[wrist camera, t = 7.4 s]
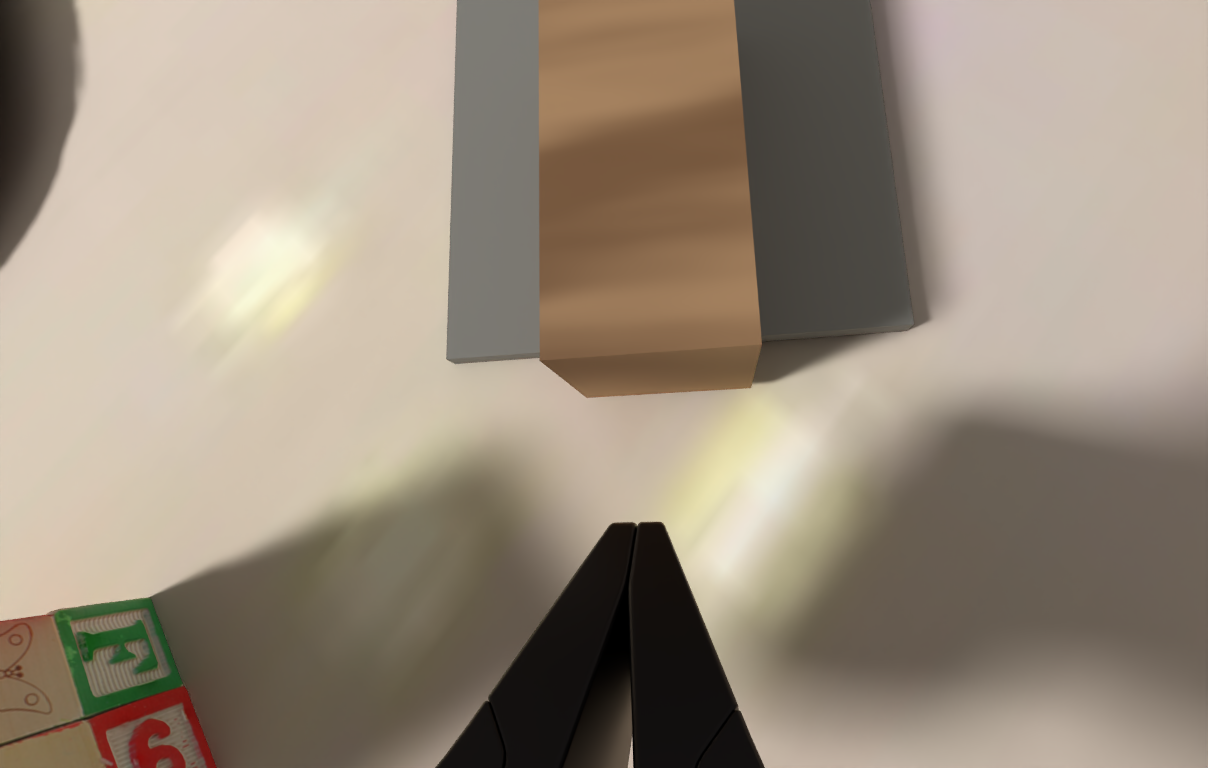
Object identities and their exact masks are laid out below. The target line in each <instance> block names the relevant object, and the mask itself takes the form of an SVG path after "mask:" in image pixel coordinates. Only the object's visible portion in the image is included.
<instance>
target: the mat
mask: <svg viewBox="0 0 1208 768" xmlns="http://www.w3.org/2000/svg"><path fill="white" fill-rule="evenodd" d="M734 7H735V19H736V32H737V44H738V56H739V69H740V81H741V93H742V105H743V118H744V130H745V142H746V155H747V167H748V179H749V191H750V204H751V216H752V228H753V241H754V253H755V265H756V278H757V290H758V302H759V314H760V327H761V339H762V341H775V340H788V339H802V338H816V337H829V336H843V335H857V334H870V333H884V332H898V331H907V330H908V329H910V328H911V327H912V326H913V325H914V320H913V313H912V306H911V298H910V291H909V284H908V276H907V269H906V262H905V254H904V247H903V239H902V232H901V225H900V217H899V210H898V203H897V195H896V188H895V181H894V173H893V166H892V159H891V151H890V144H889V136H888V129H887V122H886V114H885V107H884V100H883V92H882V85H881V78H880V70H879V63H878V55H877V48H876V41H875V33H874V26H873V19H872V11H871V4H870V0H734ZM528 358H540V304H539V0H457V20H456V54H455V87H454V121H453V155H452V188H451V222H450V256H449V289H448V323H447V357H446V359H447V360H449V361H451V362H453V363H454V364H460V363H473V362H487V361H501V360H515V359H528Z"/></svg>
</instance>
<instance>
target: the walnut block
mask: <svg viewBox="0 0 1208 768" xmlns="http://www.w3.org/2000/svg"><path fill="white" fill-rule="evenodd" d="M539 304H540V361H541V362H542V363H543V364H545V365H546V366H547V367H548V368H550V369H551V370H552V371H553V372H555V373H556V374H557V375H559V376H560V377H561V378H562V379H564V380H565V381H566V382H567V383H569V384H570V385H571V386H572V387H574V388H575V389H576V390H578V391H579V392H580V393H581V394H583V395H584V396H585V397H586V398H591V397H607V396H624V395H641V394H658V393H675V392H691V391H708V390H725V389H742V388H751V386H752V382H753V378H754V374H755V370H756V366H757V362H758V358H759V354H760V350H761V346H762V339H761V327H760V314H759V302H758V290H757V278H756V265H755V253H754V241H753V228H752V216H751V204H750V191H749V179H748V167H747V155H746V142H745V130H744V118H743V105H742V93H741V81H740V69H739V56H738V44H737V32H736V19H735V7H734V0H539Z"/></svg>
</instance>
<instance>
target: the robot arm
mask: <svg viewBox="0 0 1208 768" xmlns="http://www.w3.org/2000/svg"><path fill="white" fill-rule="evenodd" d="M488 698H489V701H485V702H484V703H483V704H482V706H481V707H480V709H479V710H478V711H477V713H476V714H475V716H474V717H473V719H472V720H471V721H470V723H469V724H468V726H467V727H466V728H465V730H464V731H463V732H462V734H461V735H460V736H459V738H458V739H457V740H456V742H455V743H454V744H453V746H452V747H451V748H450V750H449V751H448V752H447V754H446V755H445V756H444V758H443V759H442V760H441V761H440V763H439V764H438V765H437V766H436V767H435V768H628V761H629V754H630V747H631V739H632V738H633V767H634V768H765V767H764V765H763V762H762V760H761V758H760V756H759V753H758V751H757V749H756V747H755V744H754V742H753V740H752V738H751V735H750V733H749V730H748V728H747V726H746V723H745V721H744V718H743V716H742V713H741V711H739V710H738V704H737V702H736V699H735V697H734V694H733V692H732V689H731V687H730V684H729V682H728V680H727V677H726V675H725V672H724V670H723V667H722V665H721V662H720V660H719V657H718V655H717V653H716V650H715V648H714V645H713V643H712V640H711V638H710V635H709V633H708V630H707V628H706V626H705V623H704V621H703V618H702V616H701V613H700V611H699V608H698V606H697V603H696V601H695V599H694V596H693V594H692V591H691V589H690V586H689V584H688V581H687V579H686V576H685V574H684V572H683V569H682V567H681V564H680V562H679V559H678V557H677V554H676V552H675V549H674V547H673V545H672V542H671V540H670V537H669V535H668V532H667V530H666V527H665V525H664V524H663V523H662V522H640V523H639V524H638V526H637V525H636V524H635V523H633V522H623V523H612V524H611V525H609V527H608V528H607V530H606V531H605V532H604V534H603V535H602V537H601V538H600V539H599V541H598V542H597V544H596V545H595V546H594V548H593V549H592V551H591V552H590V554H589V555H588V556H587V558H586V559H585V561H584V562H583V563H582V565H581V566H580V568H579V569H578V571H577V572H576V573H575V575H574V576H573V578H572V579H571V580H570V582H569V583H568V585H567V586H566V588H565V589H564V590H563V592H562V593H561V595H560V596H559V597H558V599H557V600H556V602H555V603H554V604H553V606H552V607H551V609H550V610H549V612H548V613H547V614H546V616H545V617H544V619H543V620H542V621H541V623H540V624H539V626H538V627H537V628H536V630H535V631H534V633H533V634H532V636H531V637H530V638H529V640H528V641H527V643H526V644H525V645H524V647H523V648H522V650H521V651H520V653H519V654H518V655H517V657H516V658H515V660H514V661H513V662H512V664H511V665H510V667H509V668H508V669H507V671H506V672H505V674H504V675H503V677H502V678H501V679H500V681H499V682H498V684H497V685H496V686H495V688H494V689H493V691H492V692H491V693H490V695H489V697H488Z"/></svg>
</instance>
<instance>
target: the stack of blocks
mask: <svg viewBox="0 0 1208 768" xmlns="http://www.w3.org/2000/svg"><path fill="white" fill-rule="evenodd" d="M0 768H216V765H215V762H214V760H213V757H212V755H211V752H210V749H209V747H208V744H207V741H206V739H205V736H204V734H203V731H202V728H201V726H200V723H199V721H198V718H197V716H196V713H195V710H194V708H193V705H192V703H191V700H190V697H189V695H188V692H187V689H186V688H185V687H184V685H183V683H182V681H181V678H180V676H179V673H178V670H177V667H176V665H175V662H174V660H173V657H172V654H171V652H170V649H169V646H168V643H167V641H166V638H165V635H164V633H163V630H162V628H161V625H160V622H159V620H158V617H157V615H156V612H155V609H154V606H153V603H152V600H151V599H150V598H140V599H133V600H126V601H118V602H109V603H101V604H94V605H87V606H80V607H74V608H64V609H58V610H54V611H51V612H49V613H47V614H46V615H41V616H34V617H27V618H20V619H13V620H5V621H0Z"/></svg>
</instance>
